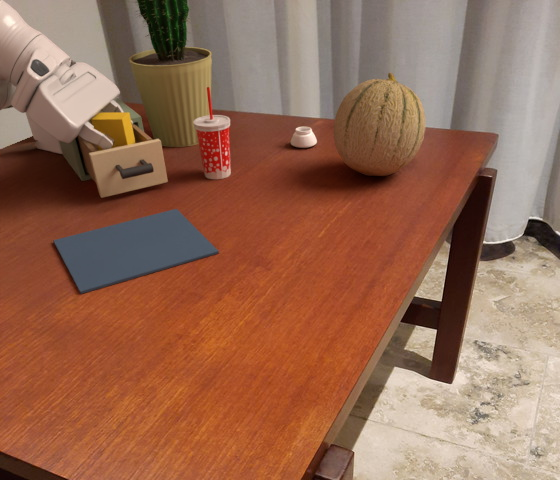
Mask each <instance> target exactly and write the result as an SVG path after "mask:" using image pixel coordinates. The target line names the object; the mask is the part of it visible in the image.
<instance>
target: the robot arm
mask: <svg viewBox="0 0 560 480" xmlns="http://www.w3.org/2000/svg"><path fill="white" fill-rule="evenodd" d="M120 94H121V91H120V89H119V87H118V86H117V84H115V83H114V82H113V81H112V80H111V79H109V78H108V77H106V76H105V75H104V74H103V73H101V71H99V70H97V69H96V68H95V67H93V66H92V65H91V64H89V63H86V62H84V61H82V62H81V61H78V62H77V61H74V60H73V59H72V57H70V55H69V54H67V53H66V52H65V51H64V50H62V49H61V48H60V47H59V46H58V45H56V44H55V42H54V41H52V40H51V39H50V38H48V37H47V36H46V35H45V34H44V33H43V32H41V31H39V30H38V29H35V28H33V27H32V26H30V24H28V23H27V22H26V21H25V20H24V18H23V17H22V16H21V14H20V13H19V12H18V11H17V10H16V9H15V8H13V6H11V5H10V4H9V3H8V2H7V1H5V0H0V111H2V110H6V109H11V108H14V109H15V110H17V111H18V112H19V113H21V114H24V113H25V112H26V111H27V114H28V116H29V117H30V119H31V120H33V121H34V122H35V123H36V124H37V125H39V126H40V127H41V128H42V129H44V130H45V131H46V132H48V133H49V134H50V135H52V136H53V137H54V138H56V139H57V140H59V141H62V142H65V143H70V142H71V141H73V140H74V139H75V138H76V137H77V136H78V135H79V136H81V137H82V138H83V139H84V140H86V141H89V142H91V143H94V144H97V145H99V146H100V147H101V148H103V149H104V150H106V149H111V148H112V146H113V145H114V143H115V140H114V139H113V138H111V137H110V136H109V135H108V134H107V133H106V134H105V135H104V134H103V133H101V132H99V131H97V130H95V129H94V126H93V125H92V121H91V119H92V118H93V117H94V116H96V115H97V114H98V113H99V112H123V110H122V108H121V107H120V105H119V104H118V103H116V102H115V101H116V100H117V98H118V99H119V96H120ZM25 114H26V113H25ZM131 123H132V125H133V121H132V120H131Z"/></svg>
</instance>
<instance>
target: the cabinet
mask: <svg viewBox="0 0 560 480" xmlns="http://www.w3.org/2000/svg"><path fill="white" fill-rule="evenodd" d="M115 102H116V103H118V104H119V105H120V107H121V108H122V110H123V112H129V113H130V118H131V120H132V121H133V123H134V124H135V125H136V126H137V127H138V128H140V129H141V130H142V131H143V132H144V133H145V129H144V124H143V119H142V116H141V115H140V114H139V113H137V112H136V111H135V110H133V109H132V108H131V107H130V106H128V105H127V104H126V103H125V102H123V101H122V100H121V99H120V98H119V97H118V98H117V100H116V101H115ZM59 142H60V145H61V149H62V152H63V154H62V156H63V158H64V159H65V161H66V162H67V163H68V164H69V166H70V167H71V169H73V171H74V172H75V174H76V175H77V176H78V178H79V179H80V180H81V182H85V181H90V180H93V179H92V177H91V176H90V175H89V174H88V172H87V171H86V170H85V168H84V164H83V161H82V158H81V154H80V150H79V146H78V143H77V139H76V138H75V139H74V140H73V141H71V142H70V143H65V142H62V141H59Z"/></svg>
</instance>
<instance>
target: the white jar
mask: <svg viewBox="0 0 560 480" xmlns="http://www.w3.org/2000/svg"><path fill="white" fill-rule="evenodd" d="M317 143H318V140H317V137H316V135H315V133H314V132H313V129H312V128H311V127H310V126H298V127H296V128H295V129H294V132H293V134H292V137H291V140H290V143H289V144H290V145H291V146H292V147H295V148H299V149H307V148H311V147H314V146H315V145H317Z"/></svg>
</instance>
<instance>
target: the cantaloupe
mask: <svg viewBox="0 0 560 480" xmlns="http://www.w3.org/2000/svg"><path fill="white" fill-rule="evenodd" d="M395 77H396V76H395V75H394V74H393V73H392V72H388V74H387V79H382V78H373V79H368V80H365V81H362V82H360V83H359V84H357V85H356V86H354V87H352V89H351V90H350V91H349V92H348V93H347V94H346V95H345V96H344V97H343V99H342V101H341V103H340V105H339V107H338V109H337V111H336V114H335V117H334V122H333V139H334V145H335V148H336V150H337V153H338V155H339V157H340V158H341V160H342V161H343V163H344V164H345V165H346V166H347V167H348V168H350V169H351V170H353V171H356V172H358V173H360V174H363V175H365V176H367V177H368V176H369V177H371V176H376V177H386V176H389V175H392V174H395V173H398V172H399V171H400V170H402V169H403V168H405V167H406V166H407V165H409V164H410V163H411V162H412V160H414V159H415V157H416V156H417V154H418V152H419V151H420V149H421V146H422V143H423V142H424V138H425V133H426V115H425V110H424V107H423V103H422V101H421V99H420V98H419V96H418V95H417V94H416V92H414V91H413V90H412V88H410V87H408V86H406V85H405V84H403V83H400V82H398V81H397V80H396V78H395Z"/></svg>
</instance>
